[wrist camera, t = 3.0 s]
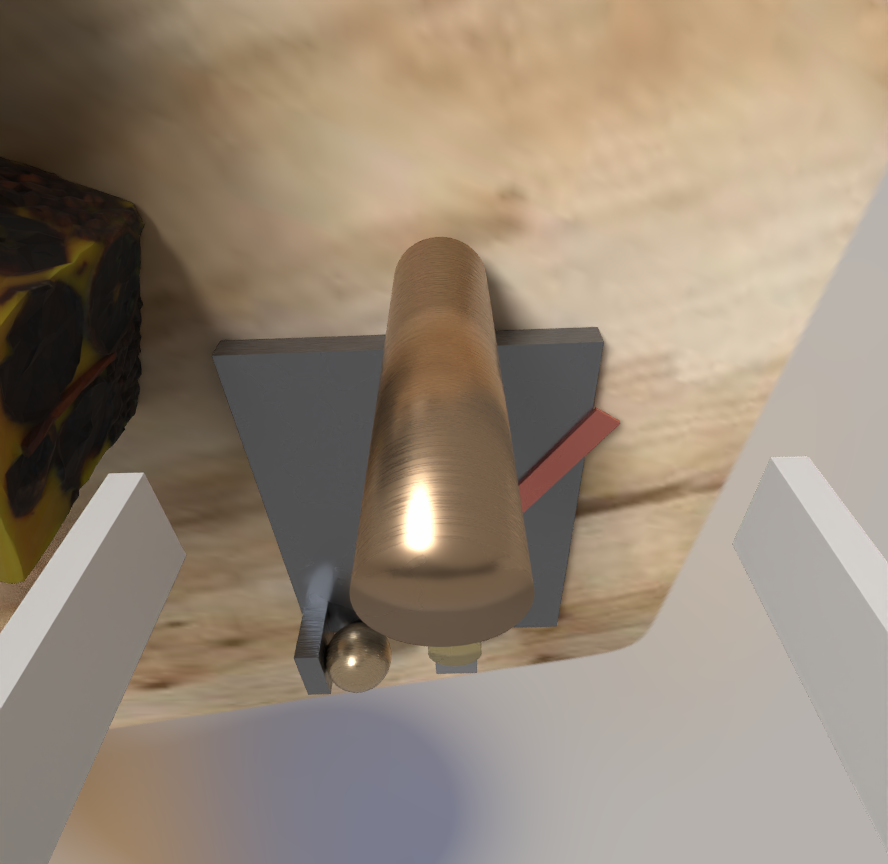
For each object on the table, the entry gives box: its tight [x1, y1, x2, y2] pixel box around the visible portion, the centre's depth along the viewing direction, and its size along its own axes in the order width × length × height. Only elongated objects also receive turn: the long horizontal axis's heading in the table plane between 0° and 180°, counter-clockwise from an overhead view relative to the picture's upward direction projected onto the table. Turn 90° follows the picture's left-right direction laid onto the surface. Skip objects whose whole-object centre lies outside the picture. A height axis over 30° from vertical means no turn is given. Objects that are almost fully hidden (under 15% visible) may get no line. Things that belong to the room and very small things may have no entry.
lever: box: [349, 237, 534, 674], centre depth 23 cm, size 25×5×13 cm, turn 2°
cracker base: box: [212, 327, 620, 695], centre depth 29 cm, size 23×17×7 cm
